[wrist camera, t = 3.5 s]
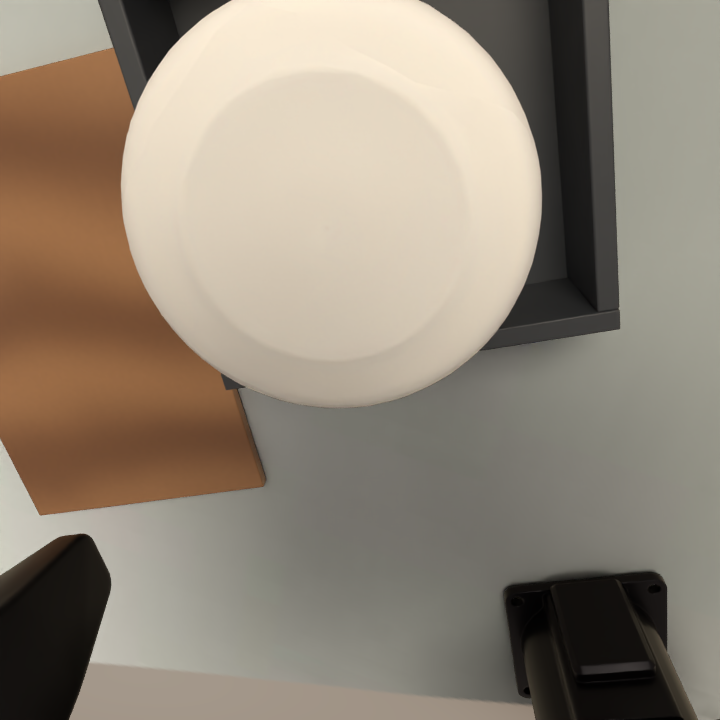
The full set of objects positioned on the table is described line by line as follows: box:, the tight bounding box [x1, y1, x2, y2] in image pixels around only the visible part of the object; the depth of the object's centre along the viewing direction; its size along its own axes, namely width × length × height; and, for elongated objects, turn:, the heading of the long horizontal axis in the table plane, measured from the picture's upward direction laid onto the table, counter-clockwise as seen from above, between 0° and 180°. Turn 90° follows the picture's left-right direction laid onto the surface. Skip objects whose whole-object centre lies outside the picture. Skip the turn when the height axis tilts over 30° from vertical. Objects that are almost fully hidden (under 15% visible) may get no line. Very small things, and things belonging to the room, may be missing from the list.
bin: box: [98, 0, 620, 390], centre depth 17 cm, size 12×12×4 cm
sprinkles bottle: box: [121, 0, 542, 408], centre depth 12 cm, size 5×5×13 cm
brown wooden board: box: [0, 48, 266, 515], centre depth 22 cm, size 16×10×1 cm, turn 12°
